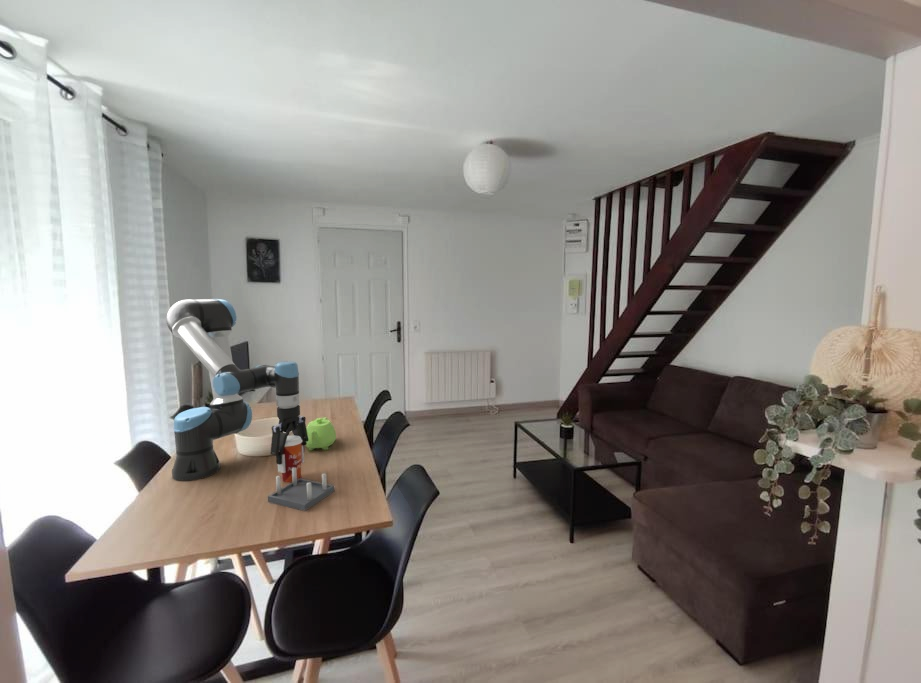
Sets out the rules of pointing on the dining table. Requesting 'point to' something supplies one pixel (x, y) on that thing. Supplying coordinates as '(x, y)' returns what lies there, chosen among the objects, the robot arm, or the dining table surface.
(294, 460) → the coffee cup
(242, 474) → the dining table surface
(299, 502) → the tray
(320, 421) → the teapot
